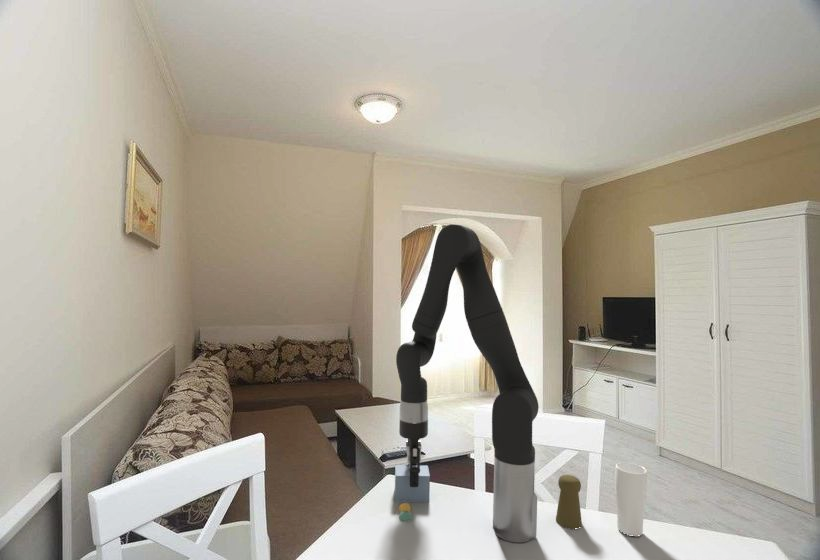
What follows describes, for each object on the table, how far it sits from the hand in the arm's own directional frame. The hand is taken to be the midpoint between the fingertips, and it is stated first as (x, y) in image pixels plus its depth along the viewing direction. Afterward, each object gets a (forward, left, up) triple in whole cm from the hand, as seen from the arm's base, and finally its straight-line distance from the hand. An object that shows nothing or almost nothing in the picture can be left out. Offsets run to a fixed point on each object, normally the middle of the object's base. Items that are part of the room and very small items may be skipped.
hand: (413, 479), depth 113 cm
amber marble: (+2, +7, -4) cm, 9 cm away
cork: (-38, +10, -6) cm, 39 cm away
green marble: (+2, +11, -4) cm, 12 cm away
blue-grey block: (0, 0, -6) cm, 6 cm away
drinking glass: (-51, +14, -6) cm, 53 cm away
